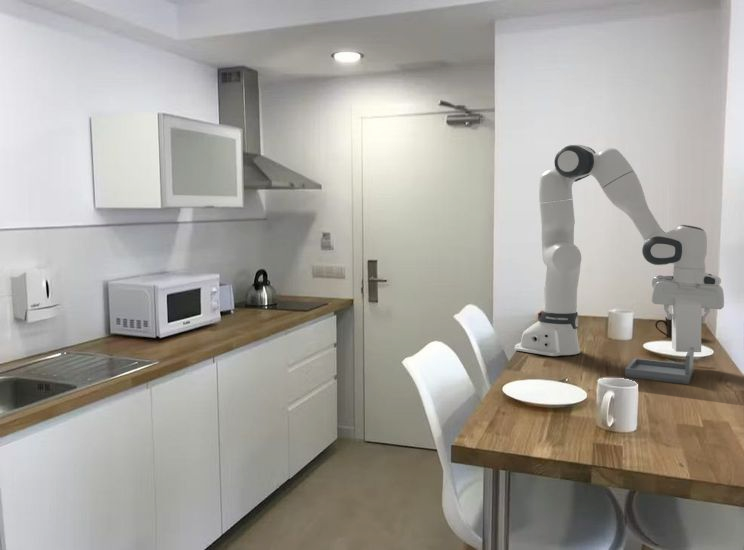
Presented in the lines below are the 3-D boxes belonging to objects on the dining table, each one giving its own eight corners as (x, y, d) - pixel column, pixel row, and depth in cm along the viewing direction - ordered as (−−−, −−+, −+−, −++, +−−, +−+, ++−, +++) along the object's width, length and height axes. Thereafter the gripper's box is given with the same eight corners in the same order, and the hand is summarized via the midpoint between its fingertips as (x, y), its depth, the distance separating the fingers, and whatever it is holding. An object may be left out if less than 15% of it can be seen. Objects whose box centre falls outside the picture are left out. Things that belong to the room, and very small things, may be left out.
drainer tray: (624, 376, 182) (625, 350, 182) (633, 365, 196) (634, 341, 195) (688, 384, 173) (689, 356, 173) (693, 372, 187) (694, 346, 186)
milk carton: (701, 352, 188) (701, 291, 186) (676, 352, 190) (676, 291, 188) (696, 348, 194) (696, 289, 193) (671, 347, 196) (671, 289, 195)
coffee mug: (690, 342, 233) (691, 316, 232) (688, 346, 225) (689, 319, 224) (657, 339, 239) (658, 314, 238) (654, 343, 232) (655, 317, 231)
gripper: (651, 275, 193) (648, 318, 194) (725, 280, 182) (722, 325, 183) (653, 274, 198) (651, 316, 199) (726, 278, 187) (722, 322, 189)
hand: (685, 320), depth 191 cm, fingers closed on milk carton, 8 cm apart
